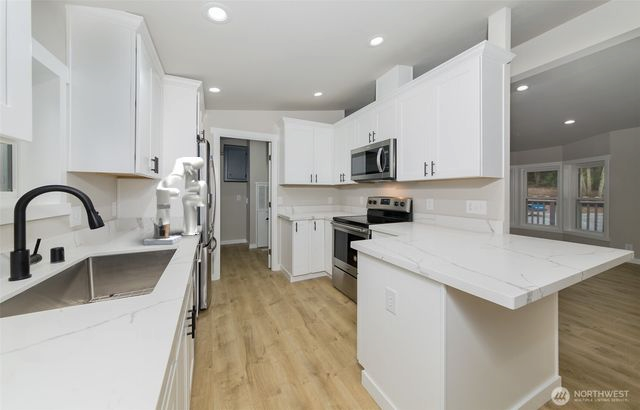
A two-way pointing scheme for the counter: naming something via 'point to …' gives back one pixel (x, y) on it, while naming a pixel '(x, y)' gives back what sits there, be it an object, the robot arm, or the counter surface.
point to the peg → (165, 233)
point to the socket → (162, 240)
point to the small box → (156, 229)
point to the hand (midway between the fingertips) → (163, 235)
